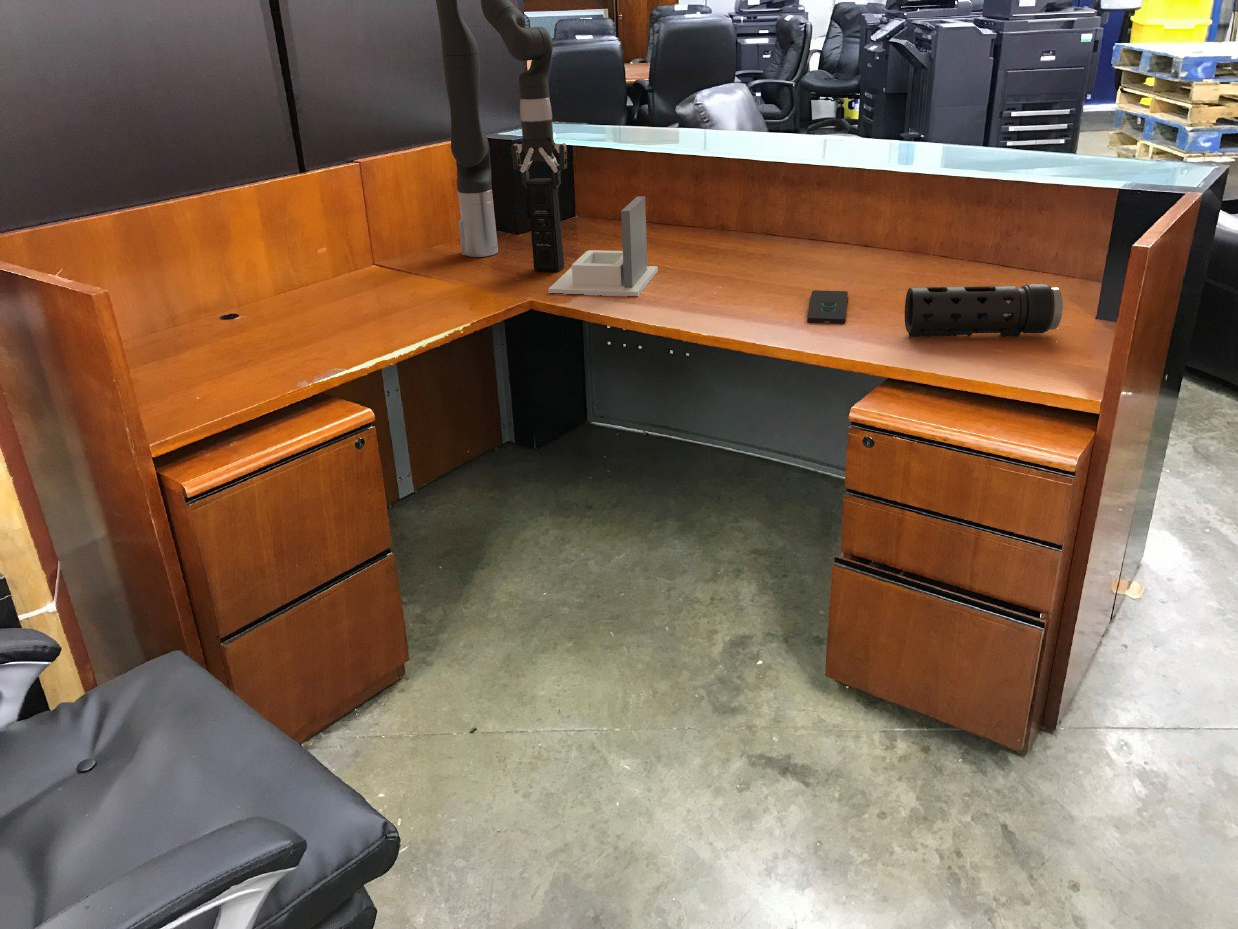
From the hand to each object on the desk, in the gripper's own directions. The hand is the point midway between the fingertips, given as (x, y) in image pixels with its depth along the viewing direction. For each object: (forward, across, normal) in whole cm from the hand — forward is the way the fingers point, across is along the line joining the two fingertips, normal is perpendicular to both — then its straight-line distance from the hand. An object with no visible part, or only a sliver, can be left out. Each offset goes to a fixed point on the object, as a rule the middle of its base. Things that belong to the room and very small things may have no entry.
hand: (541, 187), depth 239 cm
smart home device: (+22, +73, -25) cm, 80 cm away
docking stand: (+21, +18, -10) cm, 29 cm away
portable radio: (+21, 0, 0) cm, 21 cm away
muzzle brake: (+22, +103, -39) cm, 112 cm away
